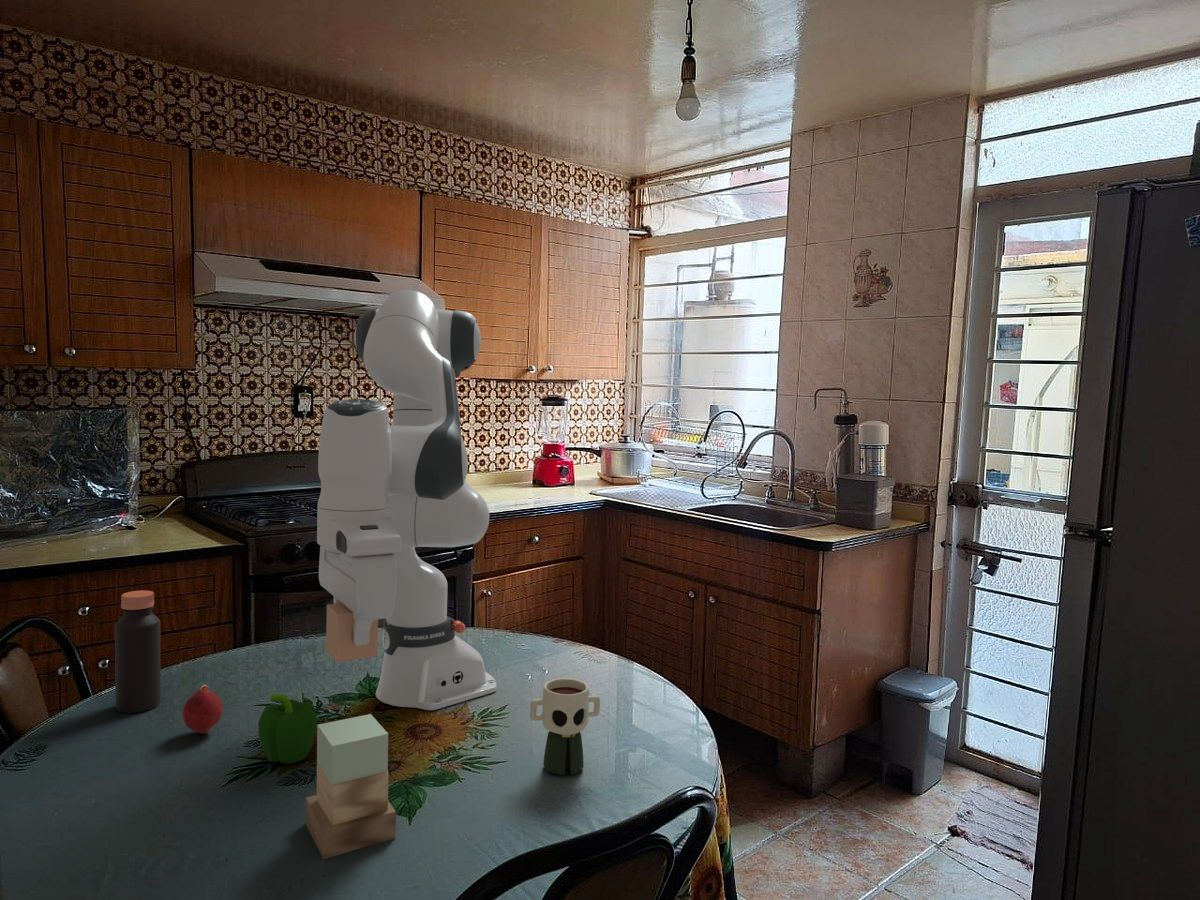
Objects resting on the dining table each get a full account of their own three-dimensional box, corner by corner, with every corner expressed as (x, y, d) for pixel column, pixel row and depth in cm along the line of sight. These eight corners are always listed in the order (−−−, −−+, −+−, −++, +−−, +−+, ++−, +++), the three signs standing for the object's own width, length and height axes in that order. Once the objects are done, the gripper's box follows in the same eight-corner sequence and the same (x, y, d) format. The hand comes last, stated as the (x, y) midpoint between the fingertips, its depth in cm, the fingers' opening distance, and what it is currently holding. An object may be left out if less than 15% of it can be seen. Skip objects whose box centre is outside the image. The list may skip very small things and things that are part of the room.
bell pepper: (327, 749, 124) (328, 687, 124) (297, 773, 116) (298, 707, 116) (280, 742, 126) (280, 681, 125) (247, 765, 118) (247, 700, 117)
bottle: (106, 709, 136) (105, 595, 134) (142, 695, 142) (141, 587, 141) (134, 716, 133) (133, 601, 132) (169, 702, 140) (169, 592, 138)
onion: (206, 743, 125) (206, 694, 124) (174, 738, 126) (174, 690, 125) (230, 728, 130) (230, 681, 130) (199, 724, 132) (199, 677, 131)
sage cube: (370, 749, 106) (370, 713, 106) (387, 771, 101) (388, 733, 100) (317, 761, 102) (317, 724, 102) (331, 785, 97) (332, 746, 96)
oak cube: (369, 786, 107) (370, 750, 106) (387, 809, 101) (388, 772, 100) (316, 800, 102) (316, 763, 102) (332, 825, 97) (333, 786, 96)
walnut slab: (373, 808, 108) (374, 780, 108) (395, 841, 101) (396, 811, 101) (305, 826, 103) (305, 797, 103) (323, 862, 96) (323, 831, 96)
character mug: (532, 783, 116) (535, 697, 115) (524, 760, 123) (527, 679, 122) (603, 776, 119) (606, 692, 118) (592, 755, 126) (595, 675, 125)
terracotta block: (365, 644, 103) (365, 600, 103) (377, 656, 99) (378, 609, 99) (326, 650, 101) (326, 604, 100) (337, 662, 96) (337, 614, 96)
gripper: (307, 517, 106) (306, 619, 107) (353, 545, 89) (351, 664, 90) (354, 515, 109) (352, 613, 110) (407, 541, 92) (404, 656, 93)
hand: (352, 636), depth 100 cm, fingers closed on terracotta block, 5 cm apart
